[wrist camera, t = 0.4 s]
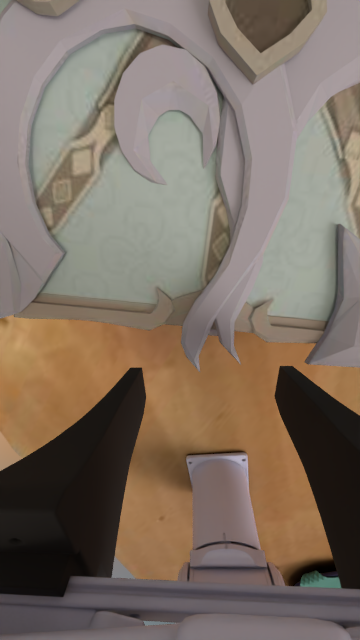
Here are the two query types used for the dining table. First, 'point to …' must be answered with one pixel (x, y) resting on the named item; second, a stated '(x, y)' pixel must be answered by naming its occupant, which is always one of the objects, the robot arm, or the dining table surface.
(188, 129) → the ornate book
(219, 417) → the dining table surface
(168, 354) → the dining table surface
